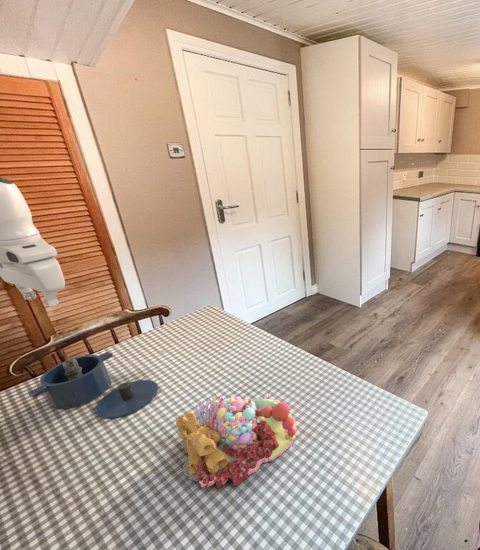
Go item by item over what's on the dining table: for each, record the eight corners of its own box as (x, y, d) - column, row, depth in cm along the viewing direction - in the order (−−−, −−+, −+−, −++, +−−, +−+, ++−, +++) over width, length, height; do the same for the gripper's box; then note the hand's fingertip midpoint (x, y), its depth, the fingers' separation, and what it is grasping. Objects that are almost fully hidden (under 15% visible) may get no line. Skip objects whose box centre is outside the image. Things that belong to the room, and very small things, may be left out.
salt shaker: (93, 381, 90) (79, 347, 85) (98, 390, 86) (83, 356, 82) (67, 393, 85) (50, 358, 81) (71, 403, 82) (53, 367, 77)
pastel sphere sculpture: (208, 516, 57) (197, 483, 53) (164, 443, 71) (154, 413, 67) (312, 430, 74) (309, 401, 71) (260, 385, 88) (255, 359, 85)
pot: (29, 410, 80) (15, 385, 77) (104, 368, 96) (95, 346, 93) (56, 424, 76) (43, 398, 73) (131, 378, 92) (122, 355, 88)
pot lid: (85, 411, 80) (78, 396, 78) (138, 378, 92) (132, 364, 90) (119, 427, 75) (112, 411, 73) (169, 390, 87) (165, 375, 85)
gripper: (-25, 247, 71) (2, 300, 76) (22, 257, 64) (48, 315, 69) (12, 241, 76) (35, 290, 81) (59, 249, 69) (81, 303, 74)
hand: (42, 302), depth 75 cm, fingers open, 8 cm apart
